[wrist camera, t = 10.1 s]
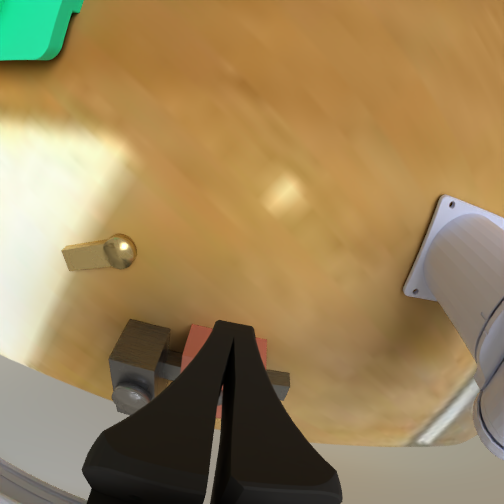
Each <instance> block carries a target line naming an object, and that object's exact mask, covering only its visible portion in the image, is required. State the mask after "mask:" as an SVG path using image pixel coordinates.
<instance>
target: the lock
mask: <svg viewBox="0 0 504 504" xmlns="http://www.w3.org/2000/svg"><path fill="white" fill-rule="evenodd" d="M212 330H213V329H212V328H207V327H203V326H198V325H194V324H192V326H191V329H190V332H189V335H188V338H187V342H186V345H185V348H184V351H183V355H182V363H181V372H180V374H181V373H182V372H183V370H184V369H185V368H186V367H187V366H188V364H189V363H190V362H191V361H192V360H193V359H194V357H195V356H196V355H197V353H198V352H199V350H200V349H201V348H202V346H203V345H204V343H205V342H206V340H207V339H208V337H209V335H210V334H211V332H212ZM256 342H257V346H258V349H259V352H260V356H261V359H262V361H263V364H264V367H265V369H266V353H267V340H266V339H260V338H256ZM222 394H223V386H222V390H221V394H220V397H219V401H218V405H217V412H216V418H221V414H222Z"/></svg>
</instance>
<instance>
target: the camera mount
mask: <svg viewBox="0 0 504 504" xmlns="http://www.w3.org/2000/svg"><path fill="white" fill-rule="evenodd" d="M83 1H84V0H0V61H1V60H51V59H53V58H54V57H56V56H57V55H58V53H59V52H60V50H61V48H62V45H63V41H64V37H65V34H66V30H67V27H68V24H69V20H70V17H71V14H72V13H80V10H81V7H82V4H83Z"/></svg>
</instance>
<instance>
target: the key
mask: <svg viewBox="0 0 504 504" xmlns="http://www.w3.org/2000/svg"><path fill="white" fill-rule="evenodd" d="M62 253H63V256H64V258H65V261H66V263H67V266H68V269H69V271H74V270H83V269H92V268H102V267H111V266H113V267H114V268H117V269H125V268H127V267H129V266H130V265H131V263H132V262H133V261H134V259H135V258H136V255H137V249H136V246H135V244H134V242H133V241H132V240H131V239H130V238H129V237H128V236H126V235H124V234H115V235H113V236H111V237H110V238H109V239H107V240H100V241H94V242H88V243H81V244H75V245H69V246H66V247H65V248H64V249H63V250H62Z"/></svg>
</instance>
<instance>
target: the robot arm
mask: <svg viewBox="0 0 504 504" xmlns="http://www.w3.org/2000/svg"><path fill="white" fill-rule="evenodd" d="M450 202H453V204H452V206H450V207H449V204H450ZM415 289H417V290H416V291H415V292H413V290H415ZM403 292H404V294H405V295H406V296H410V297H416V298H421V299H427V300H432V301H438V302H439V304H440V305H441V307H442V308H443V310H444V311H445V313H446V314H447V316H448V317H449V319H450V321H451V322H452V324H453V325H454V327H455V328H456V330H457V331H458V333H459V335H460V336H461V338H462V339H463V341H464V343H465V344H466V346H467V348H468V349H469V351H470V353H471V354H472V356H473V358H474V359H475V361H476V363H477V370H476V372H475V374H474V376H473V377H474V379H475V381H476V383H477V385H478V386H479V388H480V392H479V393H478V395H477V397H476V399H475V401H474V405H473V421H474V425H475V428H476V431H477V433H478V435H479V437H480V439H481V441H482V442H483V443H484V445H485V446H486V447H487V448H488V449H489V450H490V452H492V453H493V454H494V455H495V456H497V457H498V458H500V459H502V460H504V218H503V217H501V216H498V215H496V214H494V213H491V212H489V211H487V210H484V209H482V208H479V207H477V206H474V205H472V204H469V203H467V202H464V201H462V200H459V199H457V198H454V197H452V196H449V195H442V196H441V197H440V199H439V201H438V204H437V207H436V210H435V212H434V215H433V218H432V221H431V223H430V226H429V228H428V231H427V234H426V236H425V239H424V241H423V244H422V246H421V248H420V251H419V253H418V256H417V258H416V260H415V263H414V265H413V267H412V269H411V272H410V274H409V276H408V278H407V281H406V283H405V285H404V287H403ZM222 386H223V394H222V414H221V435H220V444H219V451H218V458H217V464H216V470H215V477H214V483H213V489H212V495H211V502H210V504H340V503H341V502H342V490H341V485H340V481H339V478H338V475H337V471H336V470H335V469H334V468H333V467H332V466H331V465H330V464H329V463H328V462H326V461H325V460H324V459H323V458H322V457H321V456H320V454H318V452H317V451H316V450H315V449H314V448H313V447H312V446H311V444H310V443H309V442H308V441H307V440H306V438H305V437H304V436H303V434H302V433H301V432H300V430H299V429H298V428H297V426H296V425H295V424H294V422H293V421H292V419H291V418H290V416H289V415H288V413H287V412H286V410H285V408H284V407H283V405H282V403H281V401H280V400H279V398H278V396H277V394H276V392H275V390H274V388H273V386H272V384H271V381H270V379H269V377H268V374H267V372H266V369H265V367H264V364H263V361H262V359H261V356H260V352H259V349H258V346H257V342H256V337H255V332H254V328H253V327H252V326H247V325H242V324H237V323H232V322H227V321H222V320H218V321H216V322H215V325H214V328H213V330H212V332H211V334H210V335H209V337H208V339H207V340H206V342H205V343H204V345H203V346H202V348H201V349H200V350H199V352H198V353H197V355H196V356H195V357H194V359H193V360H192V361H191V362H190V363H189V364H188V366H187V367H186V368H185V369H184V370H183V372H182V373H181V374H180V375H179V376H178V377H177V378H176V379H175V380H174V381H173V382H172V383H171V384H170V385H169V386H168V387H167V388H166V389H164V390H163V391H162V392H161V393H160V394H159V395H158V396H156V397H155V398H154V399H153V400H151V401H150V402H149V403H148V404H146V405H145V406H143V407H142V408H141V409H139V410H138V411H136V412H135V413H133V414H132V415H130V416H129V417H127V418H126V419H124V420H122V421H121V422H119V423H117V424H115V425H113V426H112V427H110V428H108V429H106V430H104V431H103V432H102V433H101V434H100V436H99V437H98V438H97V439H96V441H95V442H94V444H93V445H92V447H91V449H90V451H89V452H88V454H87V457H86V460H85V463H84V465H83V468H82V472H83V475H84V476H85V478H86V480H87V481H88V483H89V484H90V486H91V488H92V489H91V493H90V495H89V498H88V501H87V500H85V499H82V498H80V497H77V496H75V495H72V494H70V493H68V492H66V491H63V490H61V489H59V488H57V487H54V486H52V485H50V484H48V483H46V482H44V481H42V480H40V479H38V478H36V477H34V476H32V475H30V474H28V473H26V472H24V471H23V470H21V469H19V468H17V467H15V466H14V465H12V464H10V463H8V462H6V461H5V460H3V459H1V458H0V504H203V502H204V498H205V495H206V488H207V482H208V475H209V465H210V458H211V449H212V441H213V433H214V426H215V419H216V412H217V405H218V401H219V397H220V394H221V390H222Z"/></svg>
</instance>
